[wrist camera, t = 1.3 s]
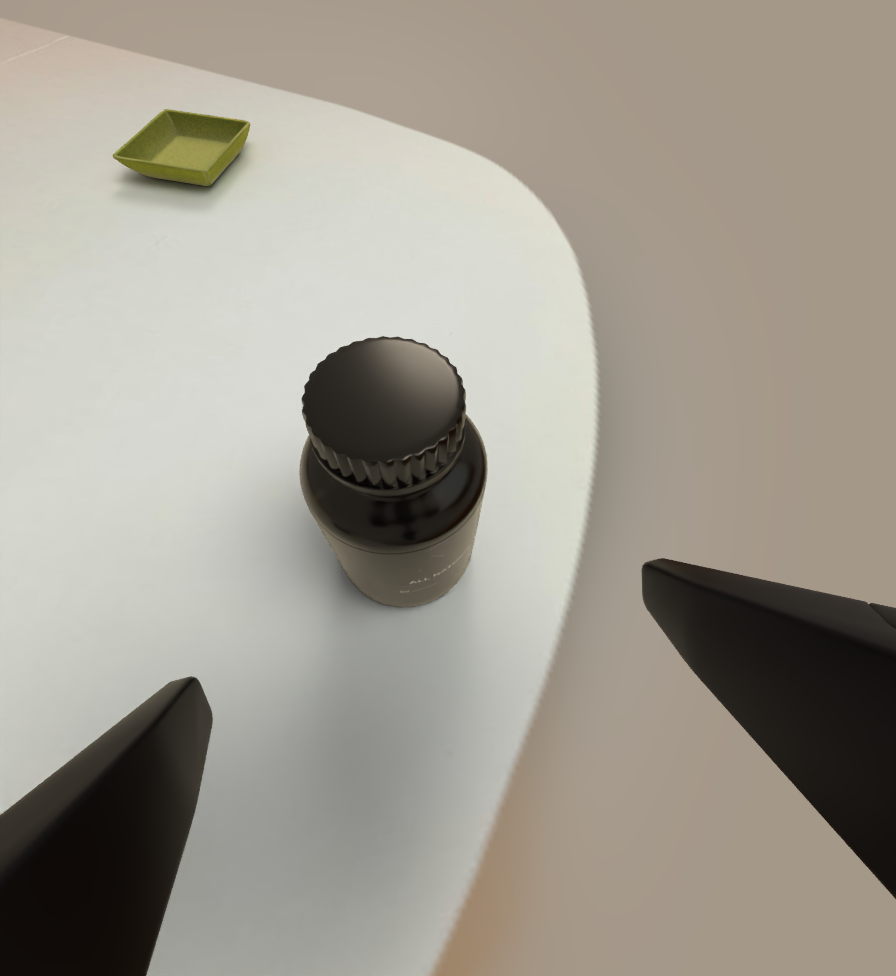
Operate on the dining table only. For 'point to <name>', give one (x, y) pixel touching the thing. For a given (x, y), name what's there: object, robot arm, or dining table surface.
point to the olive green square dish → (184, 147)
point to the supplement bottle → (393, 468)
